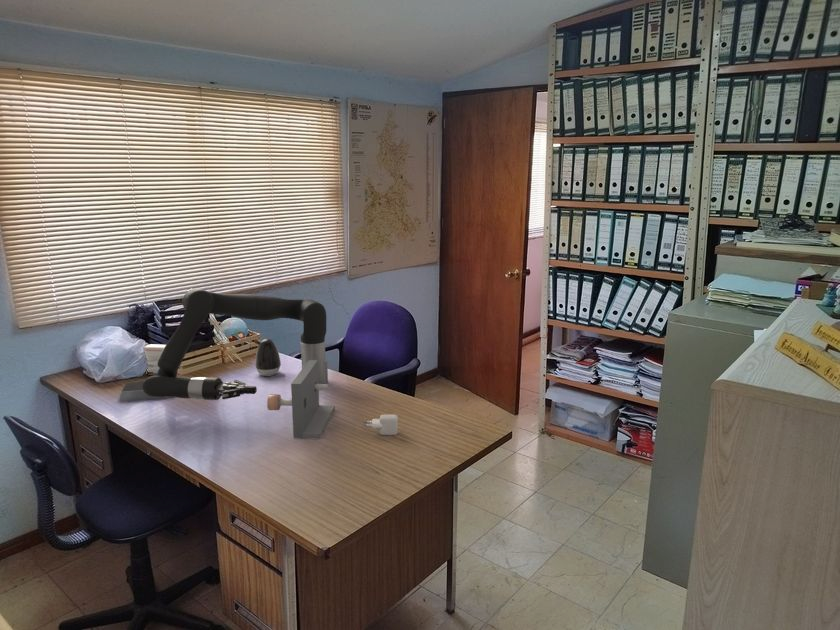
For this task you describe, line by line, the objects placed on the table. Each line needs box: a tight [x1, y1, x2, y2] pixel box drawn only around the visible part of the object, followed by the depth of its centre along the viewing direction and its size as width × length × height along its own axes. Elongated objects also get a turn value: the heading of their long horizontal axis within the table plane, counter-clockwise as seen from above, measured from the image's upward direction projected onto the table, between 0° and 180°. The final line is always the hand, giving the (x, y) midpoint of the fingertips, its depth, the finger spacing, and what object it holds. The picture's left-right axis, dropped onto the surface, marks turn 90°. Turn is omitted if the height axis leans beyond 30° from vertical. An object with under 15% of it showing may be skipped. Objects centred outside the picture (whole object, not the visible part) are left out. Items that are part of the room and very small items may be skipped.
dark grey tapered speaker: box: [253, 338, 282, 377], centre depth 246 cm, size 10×10×15 cm
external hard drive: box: [118, 380, 170, 403], centre depth 225 cm, size 13×19×4 cm
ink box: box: [143, 343, 166, 373], centre depth 248 cm, size 9×5×12 cm, turn 84°
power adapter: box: [362, 414, 399, 436], centre depth 192 cm, size 11×5×6 cm, turn 92°
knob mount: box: [290, 360, 336, 440], centre depth 198 cm, size 8×24×18 cm, turn 177°
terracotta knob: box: [266, 393, 292, 411], centre depth 191 cm, size 10×5×5 cm, turn 87°
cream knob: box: [314, 383, 329, 391], centre depth 205 cm, size 10×5×5 cm, turn 87°
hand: (255, 390), depth 201 cm, fingers closed
